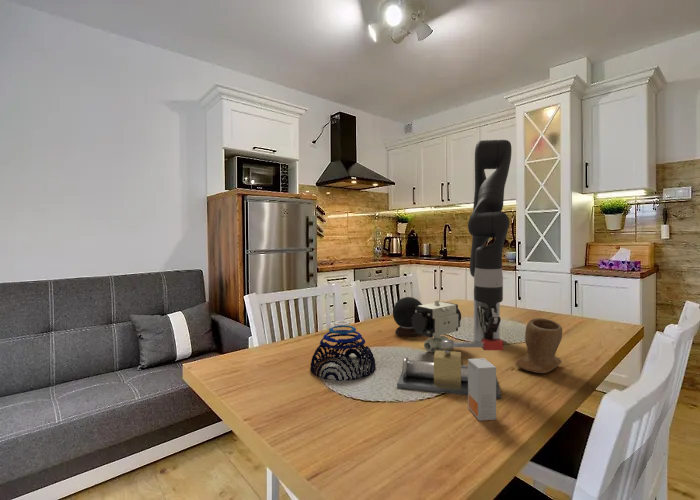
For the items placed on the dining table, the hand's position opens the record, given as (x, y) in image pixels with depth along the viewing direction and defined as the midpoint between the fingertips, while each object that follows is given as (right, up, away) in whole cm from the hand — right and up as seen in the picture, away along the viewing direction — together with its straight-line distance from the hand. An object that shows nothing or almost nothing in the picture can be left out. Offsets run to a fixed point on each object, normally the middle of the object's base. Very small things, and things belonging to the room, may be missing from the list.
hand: (488, 344), depth 103 cm
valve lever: (-6, 0, -3) cm, 7 cm away
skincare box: (-9, -11, -19) cm, 24 cm away
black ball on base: (-14, -8, +48) cm, 51 cm away
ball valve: (-8, -9, +26) cm, 28 cm away
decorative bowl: (-41, -10, +11) cm, 44 cm away
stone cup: (+19, -9, +8) cm, 23 cm away
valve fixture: (-12, -10, -2) cm, 16 cm away
